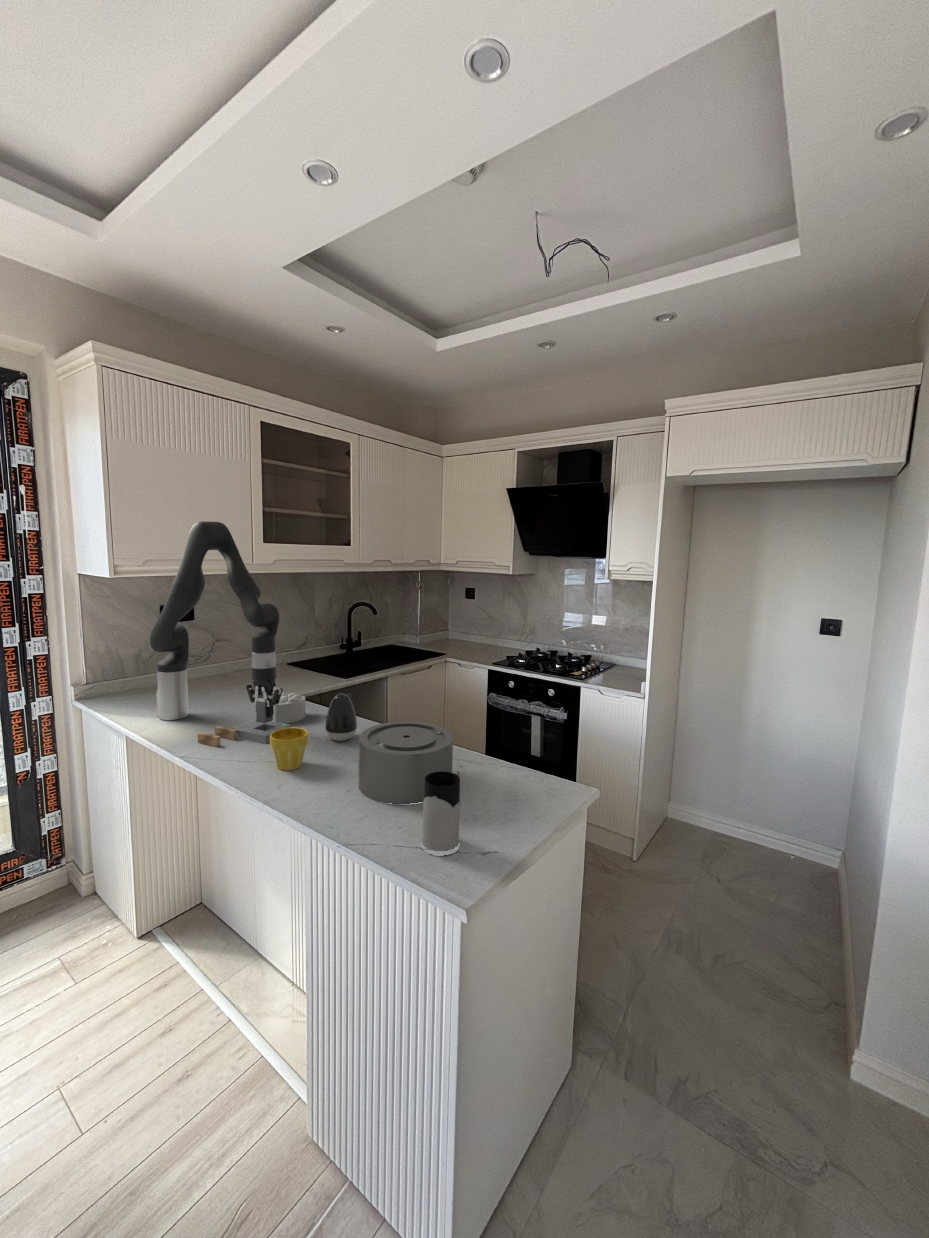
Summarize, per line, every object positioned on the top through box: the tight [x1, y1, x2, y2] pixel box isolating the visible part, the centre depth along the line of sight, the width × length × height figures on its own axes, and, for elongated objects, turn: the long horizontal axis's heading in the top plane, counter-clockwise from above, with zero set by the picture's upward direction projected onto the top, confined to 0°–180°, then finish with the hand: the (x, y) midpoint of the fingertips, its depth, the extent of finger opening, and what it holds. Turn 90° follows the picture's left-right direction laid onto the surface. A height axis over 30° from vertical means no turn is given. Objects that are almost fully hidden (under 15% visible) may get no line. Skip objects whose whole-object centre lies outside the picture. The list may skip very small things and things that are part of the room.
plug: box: [255, 696, 273, 723], centre depth 173 cm, size 4×4×8 cm
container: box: [358, 720, 454, 804], centre depth 141 cm, size 25×25×13 cm
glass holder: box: [421, 769, 461, 851], centre depth 114 cm, size 9×14×15 cm, turn 159°
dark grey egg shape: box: [324, 692, 358, 742], centre depth 172 cm, size 10×10×15 cm
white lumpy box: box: [272, 692, 307, 724], centre depth 191 cm, size 10×13×9 cm
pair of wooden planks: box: [197, 725, 238, 748], centre depth 167 cm, size 8×8×3 cm
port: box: [236, 721, 293, 744], centre depth 174 cm, size 12×12×3 cm
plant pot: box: [269, 726, 309, 771], centre depth 150 cm, size 10×10×10 cm
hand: (264, 715), depth 173 cm, fingers closed on plug, 3 cm apart
